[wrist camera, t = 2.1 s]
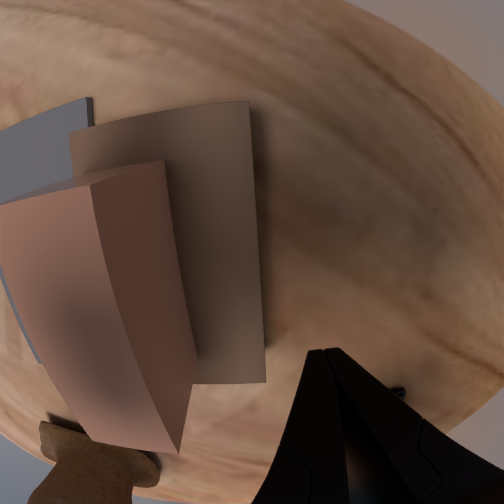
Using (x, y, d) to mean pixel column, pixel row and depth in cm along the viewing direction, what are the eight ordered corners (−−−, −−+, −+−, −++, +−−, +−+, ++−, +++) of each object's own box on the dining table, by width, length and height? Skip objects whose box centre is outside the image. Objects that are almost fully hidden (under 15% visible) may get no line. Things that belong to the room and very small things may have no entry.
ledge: (249, 108, 13) (248, 100, 10) (264, 349, 18) (266, 382, 16) (98, 131, 13) (68, 133, 11) (145, 350, 19) (132, 380, 16)
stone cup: (155, 433, 23) (123, 574, 9) (165, 480, 27) (147, 580, 13) (26, 391, 22) (-32, 492, 8) (58, 447, 26) (23, 530, 12)
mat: (91, 97, 13) (86, 97, 12) (148, 371, 19) (146, 376, 19) (-22, 144, 13) (-27, 145, 12) (41, 358, 20) (38, 362, 19)
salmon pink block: (164, 159, 11) (89, 185, 6) (198, 358, 15) (178, 454, 9) (82, 174, 11) (-14, 209, 6) (129, 356, 15) (92, 440, 9)
